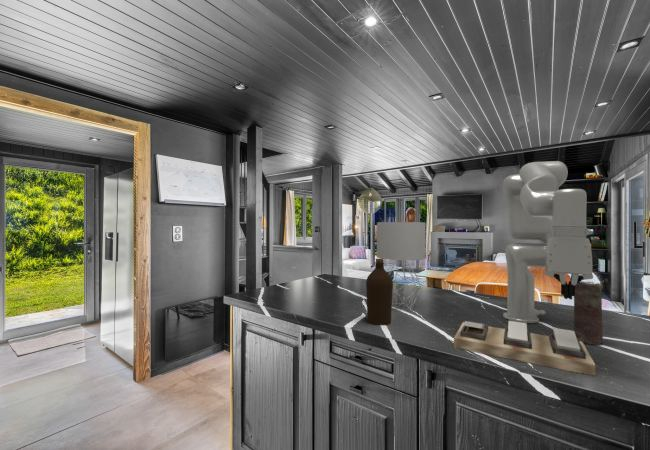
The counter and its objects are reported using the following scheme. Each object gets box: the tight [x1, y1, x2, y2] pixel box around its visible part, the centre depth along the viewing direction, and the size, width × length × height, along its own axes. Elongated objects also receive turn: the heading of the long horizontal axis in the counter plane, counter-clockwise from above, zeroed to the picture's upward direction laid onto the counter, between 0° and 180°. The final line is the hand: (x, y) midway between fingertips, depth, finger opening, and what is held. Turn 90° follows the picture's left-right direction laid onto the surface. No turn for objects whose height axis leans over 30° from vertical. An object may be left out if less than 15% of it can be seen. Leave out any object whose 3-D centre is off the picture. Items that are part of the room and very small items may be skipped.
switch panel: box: [453, 320, 596, 377], centre depth 96 cm, size 34×19×4 cm, turn 58°
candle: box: [573, 281, 604, 345], centre depth 104 cm, size 8×7×20 cm
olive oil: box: [365, 258, 394, 326], centre depth 123 cm, size 11×11×25 cm
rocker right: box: [553, 327, 580, 352], centre depth 90 cm, size 5×11×1 cm, turn 148°
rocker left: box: [464, 320, 486, 329], centre depth 103 cm, size 5×11×1 cm, turn 148°
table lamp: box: [376, 221, 427, 311], centre depth 146 cm, size 22×22×40 cm
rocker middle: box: [507, 320, 528, 343], centre depth 96 cm, size 5×11×1 cm, turn 148°
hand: (567, 298), depth 87 cm, fingers closed
